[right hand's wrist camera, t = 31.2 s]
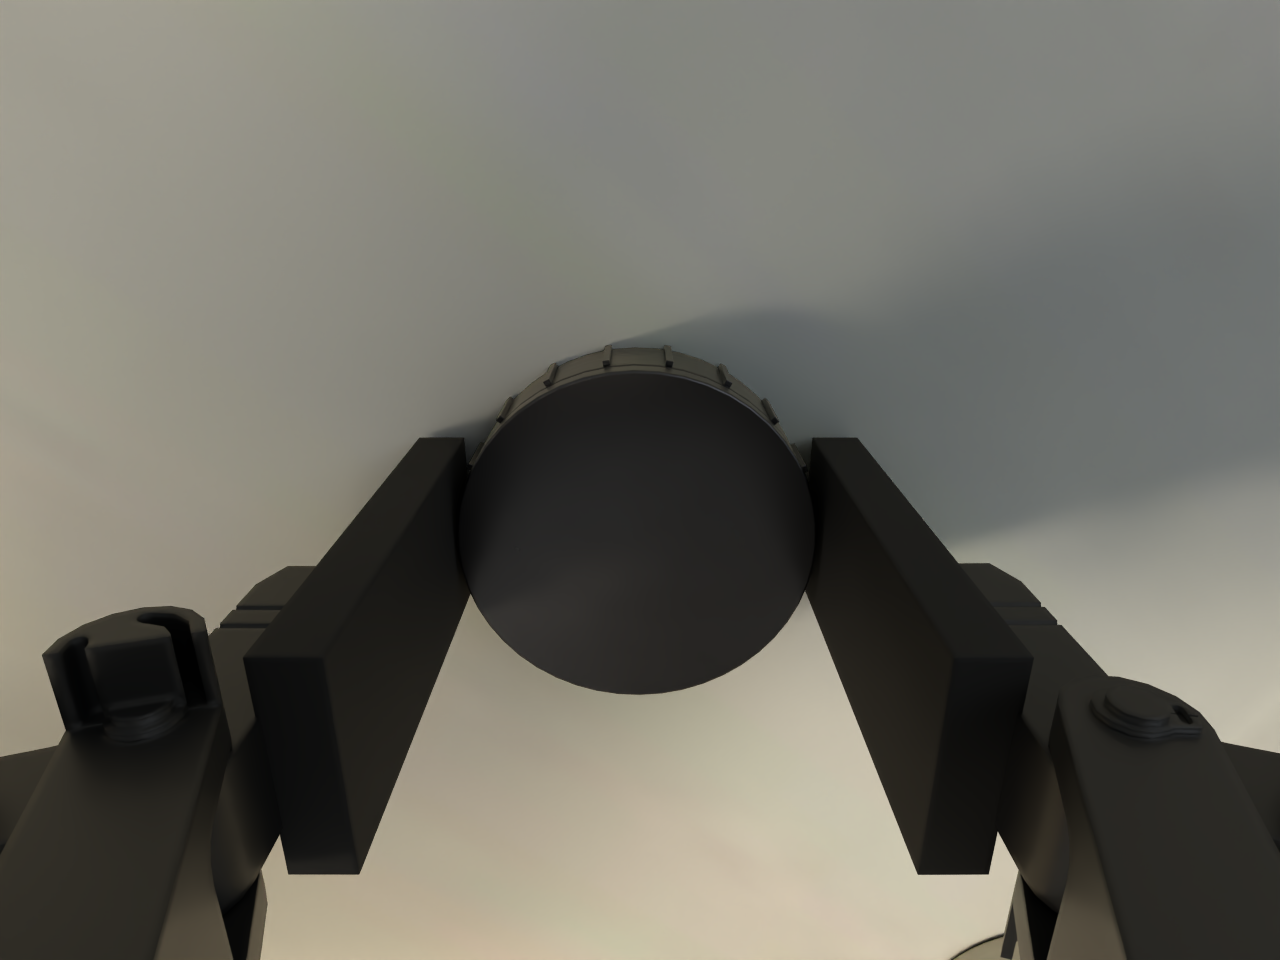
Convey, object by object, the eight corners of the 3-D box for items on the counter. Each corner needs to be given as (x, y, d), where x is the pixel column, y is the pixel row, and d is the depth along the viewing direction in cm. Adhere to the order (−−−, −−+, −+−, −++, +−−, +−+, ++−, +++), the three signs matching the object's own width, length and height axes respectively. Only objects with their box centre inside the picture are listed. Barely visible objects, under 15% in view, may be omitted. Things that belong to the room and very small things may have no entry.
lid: (733, 284, 13) (745, 301, 11) (847, 582, 15) (869, 629, 13) (412, 423, 14) (384, 455, 12) (560, 686, 16) (552, 742, 14)
